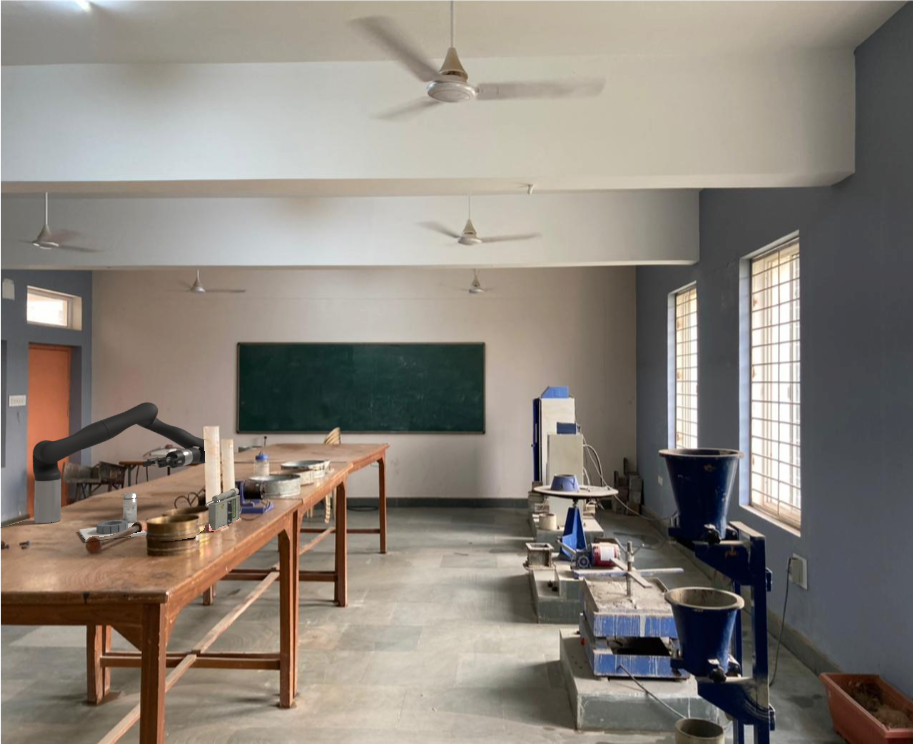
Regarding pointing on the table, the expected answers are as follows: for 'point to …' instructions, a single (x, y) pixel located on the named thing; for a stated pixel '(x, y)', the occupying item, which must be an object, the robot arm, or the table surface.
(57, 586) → the table surface
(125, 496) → the piston
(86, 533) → the ring plate
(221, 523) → the geiger counter
